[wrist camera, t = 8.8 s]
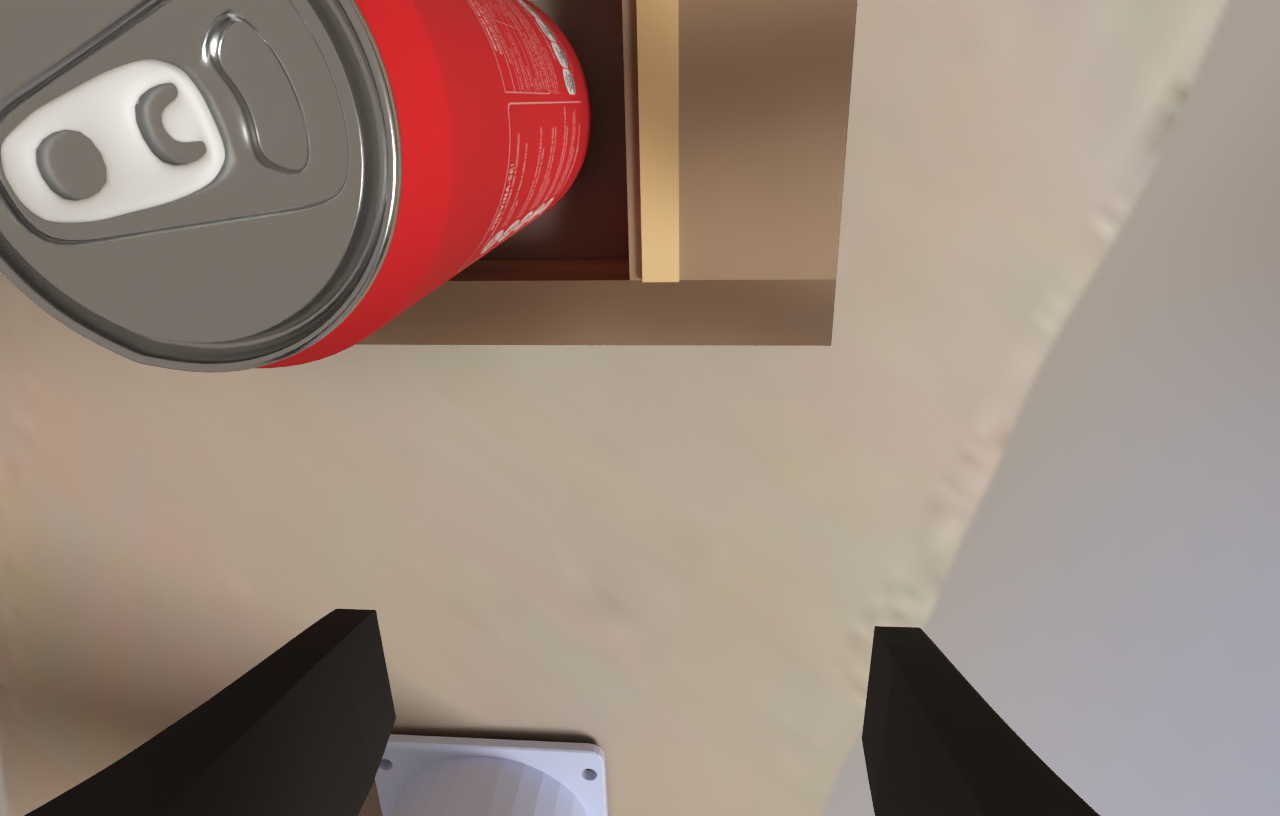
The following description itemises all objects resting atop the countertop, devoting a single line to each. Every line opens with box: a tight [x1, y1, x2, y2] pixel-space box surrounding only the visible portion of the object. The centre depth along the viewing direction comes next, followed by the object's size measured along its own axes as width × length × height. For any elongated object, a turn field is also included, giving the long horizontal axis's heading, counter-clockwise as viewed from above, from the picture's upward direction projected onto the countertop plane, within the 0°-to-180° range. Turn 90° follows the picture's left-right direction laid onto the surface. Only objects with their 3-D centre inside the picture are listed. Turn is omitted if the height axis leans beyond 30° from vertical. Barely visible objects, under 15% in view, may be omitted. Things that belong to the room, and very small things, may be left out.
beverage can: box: [0, 0, 591, 372], centre depth 13 cm, size 5×5×12 cm
